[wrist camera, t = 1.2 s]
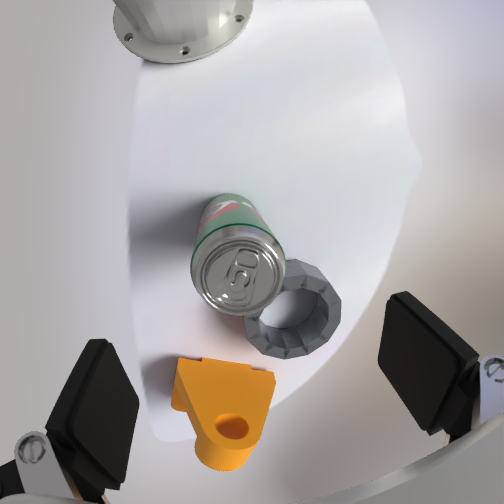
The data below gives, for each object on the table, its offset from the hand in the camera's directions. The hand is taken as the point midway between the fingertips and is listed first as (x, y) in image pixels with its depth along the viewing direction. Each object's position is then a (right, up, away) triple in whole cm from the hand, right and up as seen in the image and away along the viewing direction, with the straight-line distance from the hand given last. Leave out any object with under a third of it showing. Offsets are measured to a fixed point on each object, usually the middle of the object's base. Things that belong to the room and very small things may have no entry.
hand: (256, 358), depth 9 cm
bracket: (-4, -12, +23) cm, 26 cm away
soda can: (-2, +6, +17) cm, 18 cm away
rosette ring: (+3, -2, +20) cm, 20 cm away
